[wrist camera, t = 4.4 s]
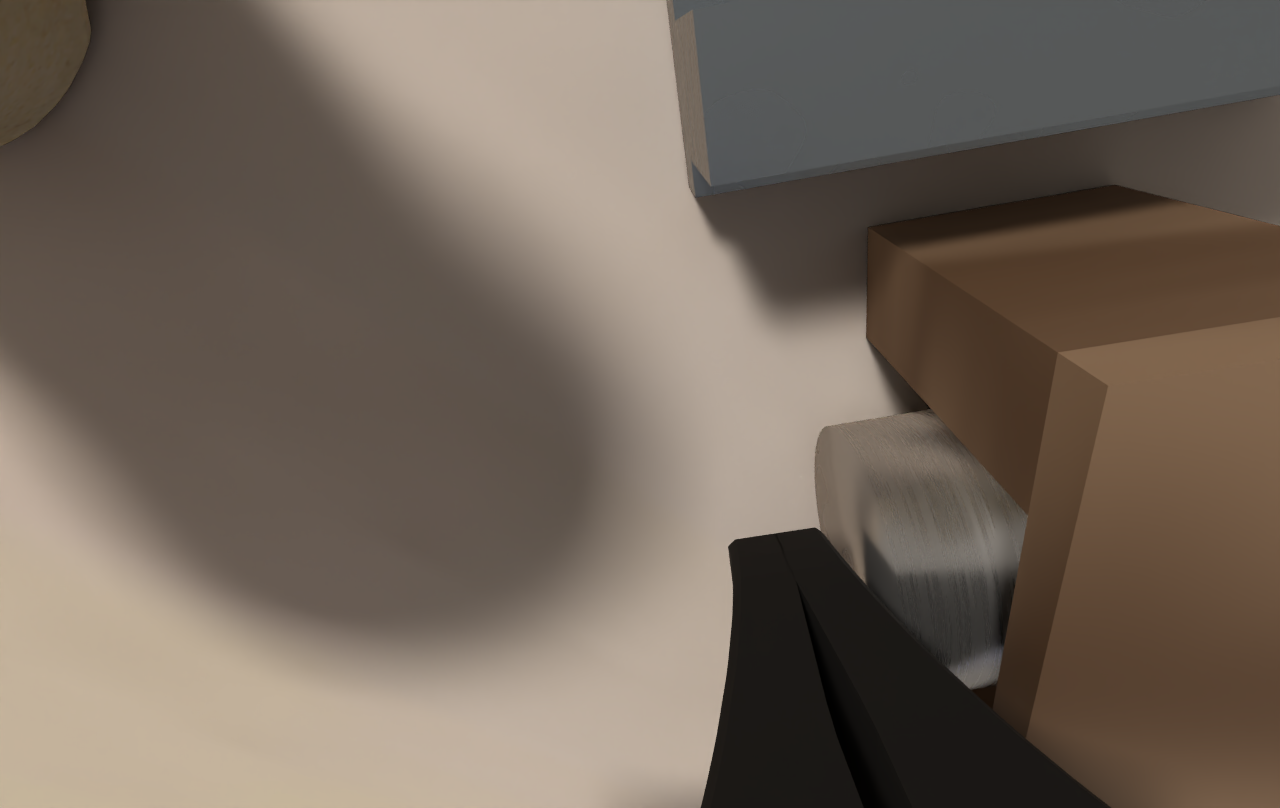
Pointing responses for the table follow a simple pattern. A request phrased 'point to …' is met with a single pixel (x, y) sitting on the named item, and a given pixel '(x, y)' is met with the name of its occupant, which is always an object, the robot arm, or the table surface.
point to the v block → (943, 76)
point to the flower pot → (38, 58)
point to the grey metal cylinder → (924, 533)
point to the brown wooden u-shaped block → (1116, 471)
